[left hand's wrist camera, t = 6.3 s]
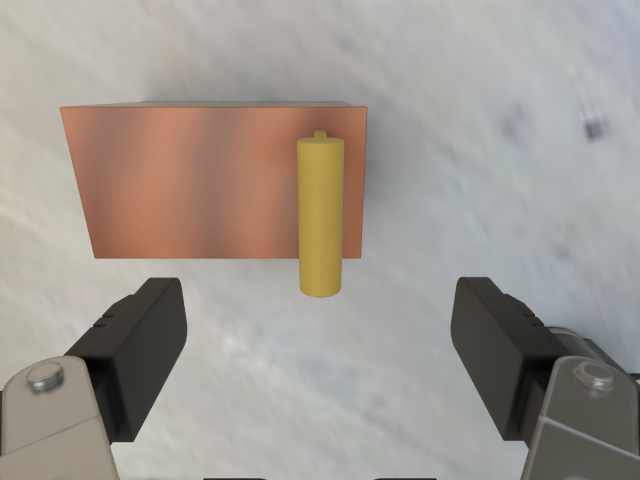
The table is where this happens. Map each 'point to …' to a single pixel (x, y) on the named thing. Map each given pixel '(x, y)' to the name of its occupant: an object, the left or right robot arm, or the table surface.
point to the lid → (223, 183)
